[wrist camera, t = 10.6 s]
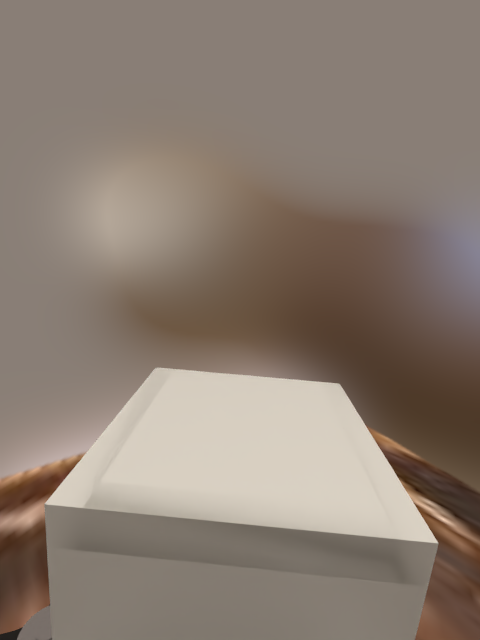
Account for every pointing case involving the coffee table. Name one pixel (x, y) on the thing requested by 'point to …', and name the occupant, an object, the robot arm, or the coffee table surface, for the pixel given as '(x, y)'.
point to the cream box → (235, 520)
